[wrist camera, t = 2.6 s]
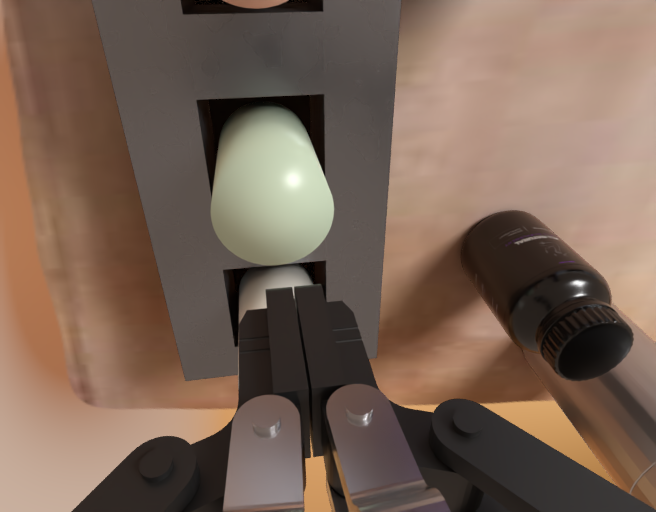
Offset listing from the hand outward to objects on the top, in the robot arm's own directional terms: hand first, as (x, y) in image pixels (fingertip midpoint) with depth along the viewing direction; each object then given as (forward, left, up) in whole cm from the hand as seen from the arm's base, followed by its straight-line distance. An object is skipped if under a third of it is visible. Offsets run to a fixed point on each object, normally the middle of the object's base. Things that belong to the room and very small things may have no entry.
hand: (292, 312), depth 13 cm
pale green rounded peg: (0, 0, -14) cm, 14 cm away
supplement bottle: (-16, -13, -19) cm, 28 cm away
